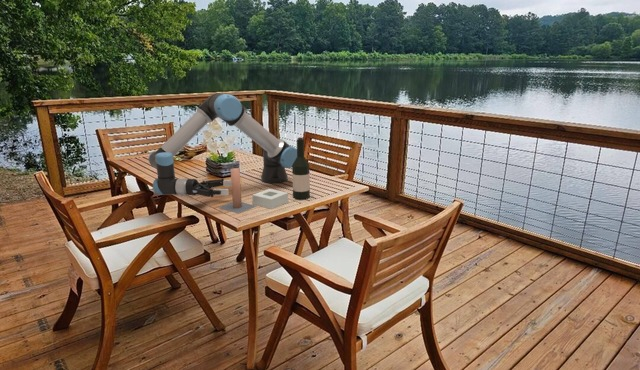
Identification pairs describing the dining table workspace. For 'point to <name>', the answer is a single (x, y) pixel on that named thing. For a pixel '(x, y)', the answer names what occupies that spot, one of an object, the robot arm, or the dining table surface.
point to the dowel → (236, 188)
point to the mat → (237, 210)
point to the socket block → (270, 198)
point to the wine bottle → (301, 174)
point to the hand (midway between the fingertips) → (232, 187)
